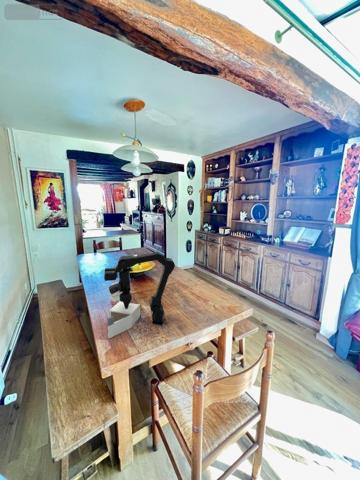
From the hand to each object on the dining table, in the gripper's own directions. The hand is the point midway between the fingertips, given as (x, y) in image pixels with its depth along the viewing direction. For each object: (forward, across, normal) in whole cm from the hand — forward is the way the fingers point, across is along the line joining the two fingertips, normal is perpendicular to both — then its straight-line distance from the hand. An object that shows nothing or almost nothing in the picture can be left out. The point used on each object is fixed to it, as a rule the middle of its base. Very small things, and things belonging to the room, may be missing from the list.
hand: (126, 304), depth 115 cm
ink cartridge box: (+13, -28, -5) cm, 32 cm away
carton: (+13, -6, -1) cm, 14 cm away
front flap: (+12, +7, -4) cm, 14 cm away
